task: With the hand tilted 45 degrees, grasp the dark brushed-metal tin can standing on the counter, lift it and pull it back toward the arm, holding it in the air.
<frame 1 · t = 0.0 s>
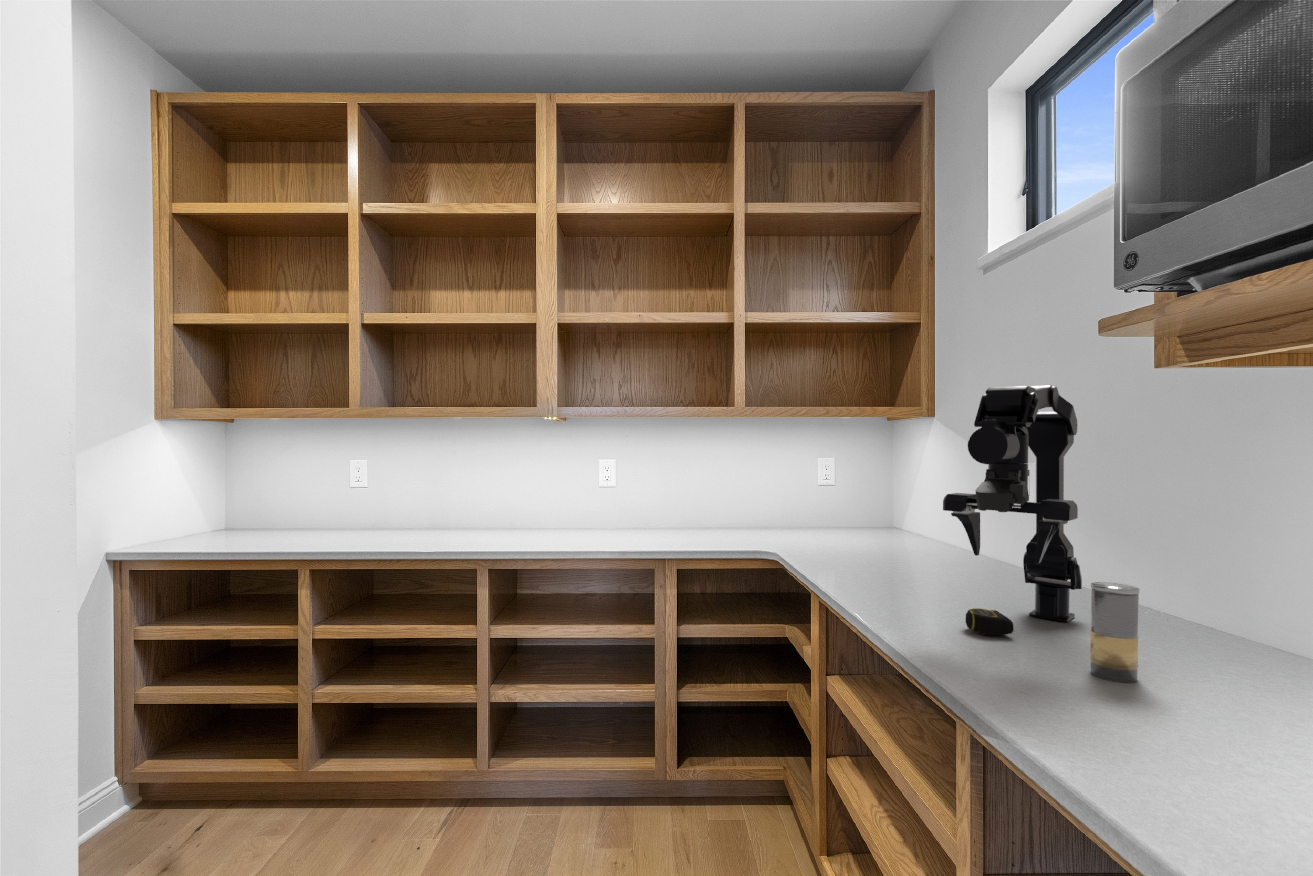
hand: (1006, 559, 108), 15 cm above the countertop, fingers open, 9 cm apart
tape measure: (990, 634, 117), on the countertop
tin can: (1113, 675, 96), on the countertop
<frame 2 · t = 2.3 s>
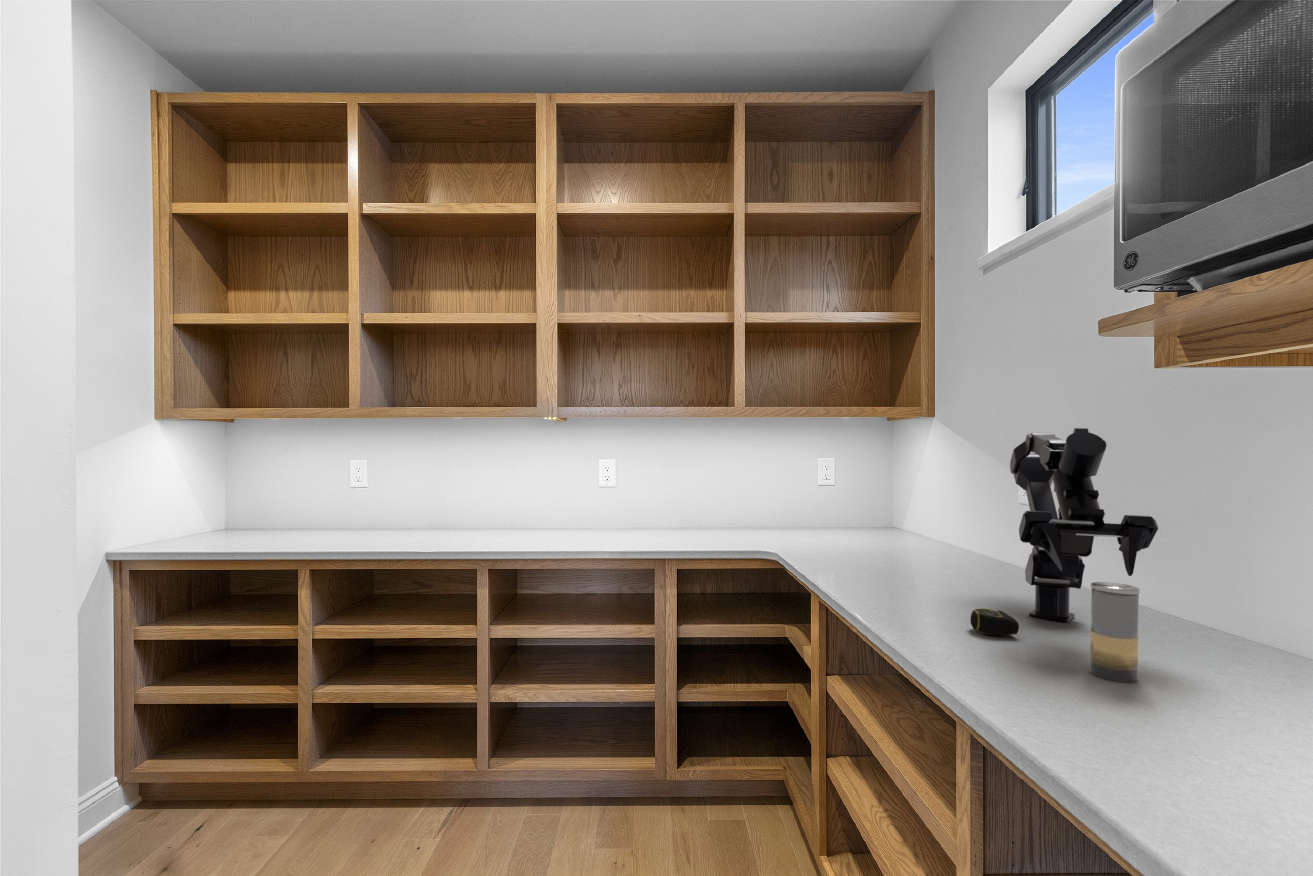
hand: (1096, 572, 104), 13 cm above the countertop, fingers open, 9 cm apart
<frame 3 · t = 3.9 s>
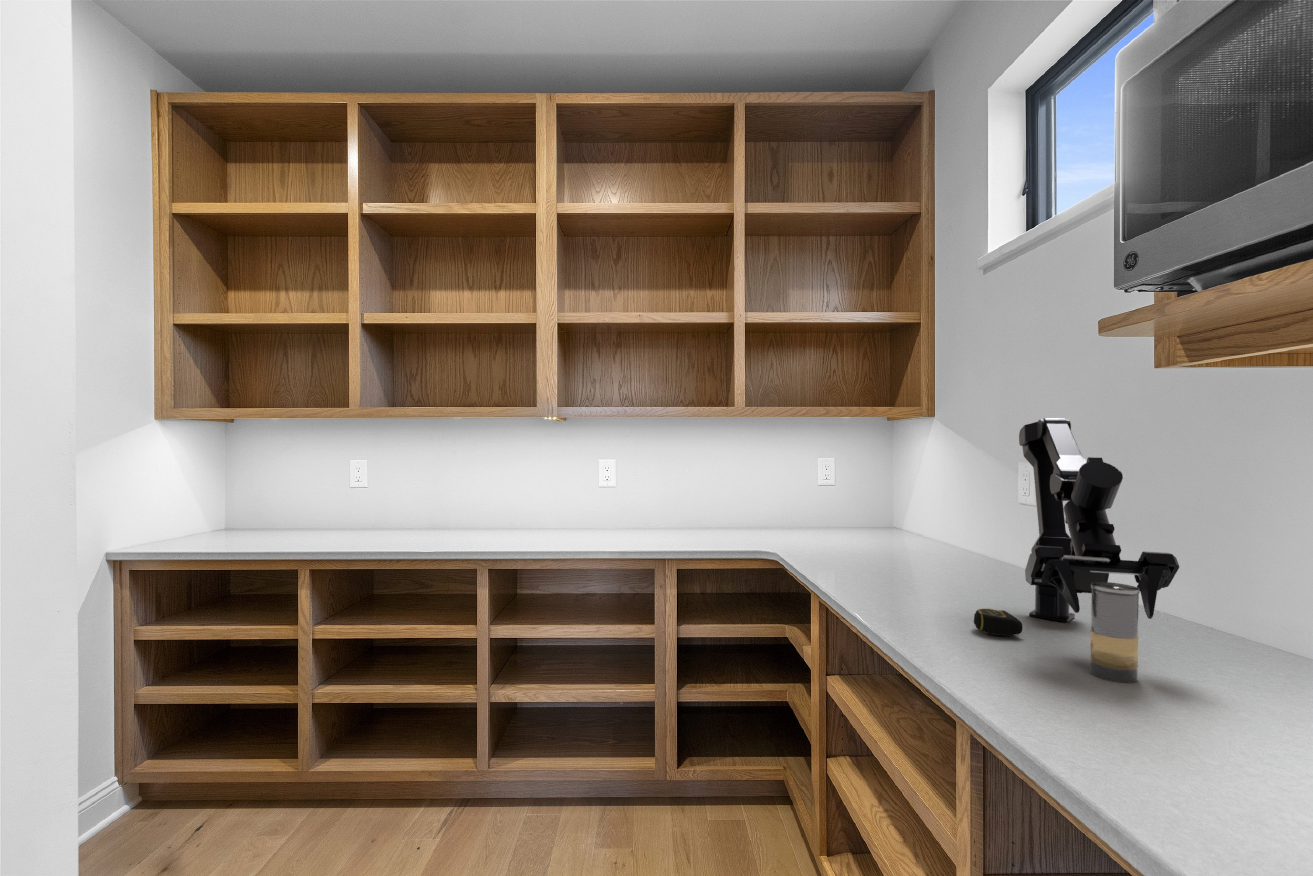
hand: (1113, 614, 96), 9 cm above the countertop, fingers open, 9 cm apart
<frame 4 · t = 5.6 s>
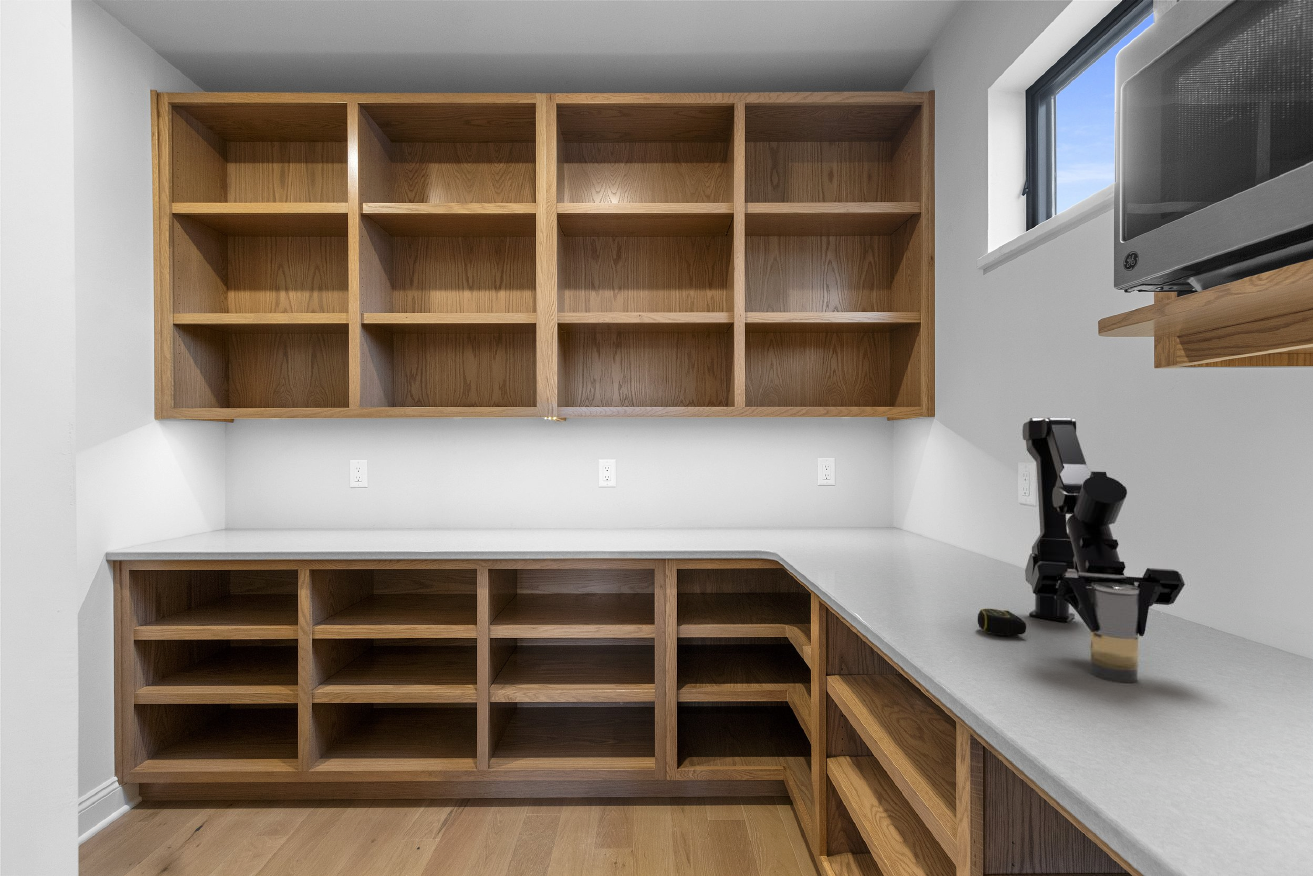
hand: (1117, 632, 95), 7 cm above the countertop, fingers closed on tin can, 6 cm apart
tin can: (1113, 675, 96), on the countertop, touching gripper
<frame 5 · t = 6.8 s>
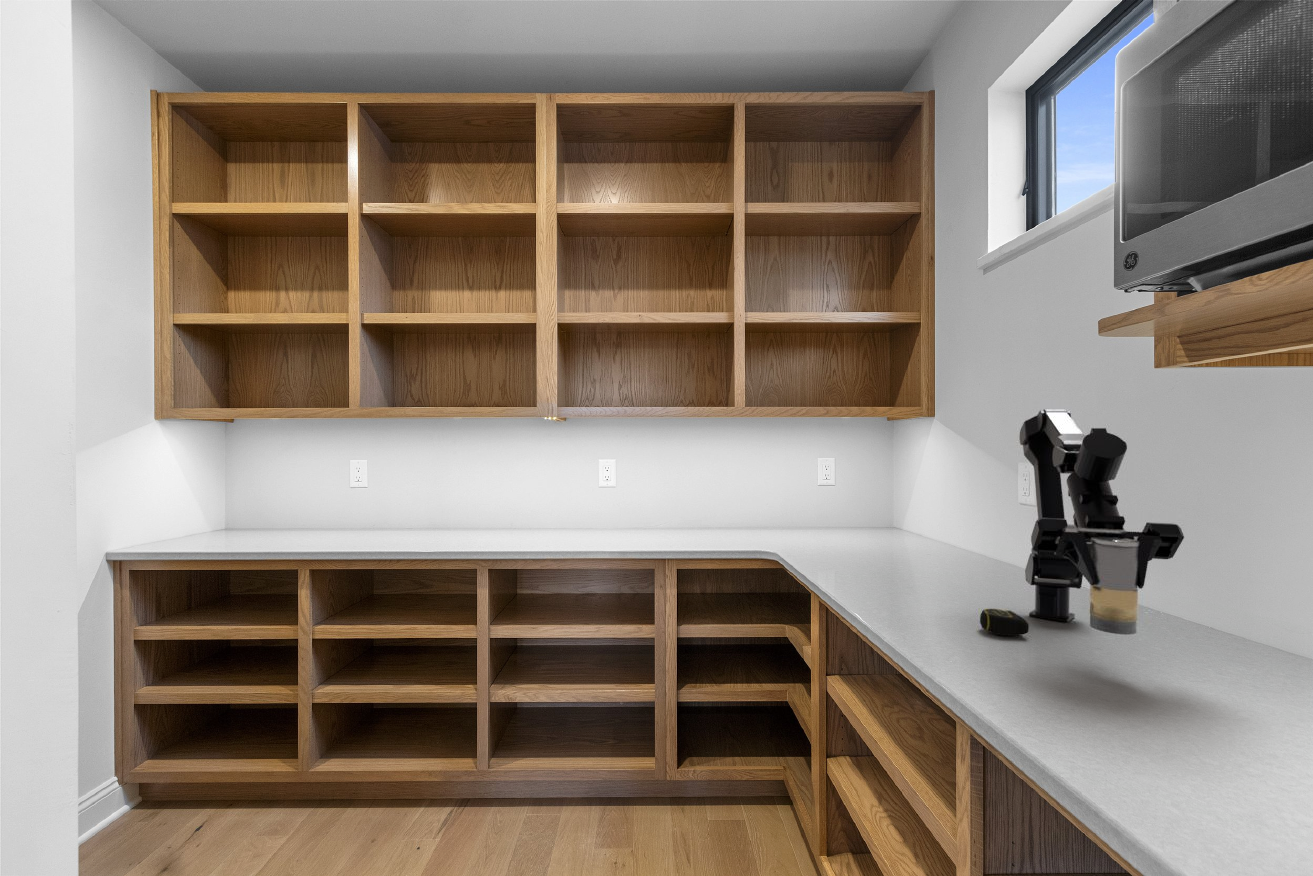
hand: (1117, 585, 95), 13 cm above the countertop, fingers closed on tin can, 6 cm apart
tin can: (1112, 628, 96), point 7 cm above the countertop, touching gripper
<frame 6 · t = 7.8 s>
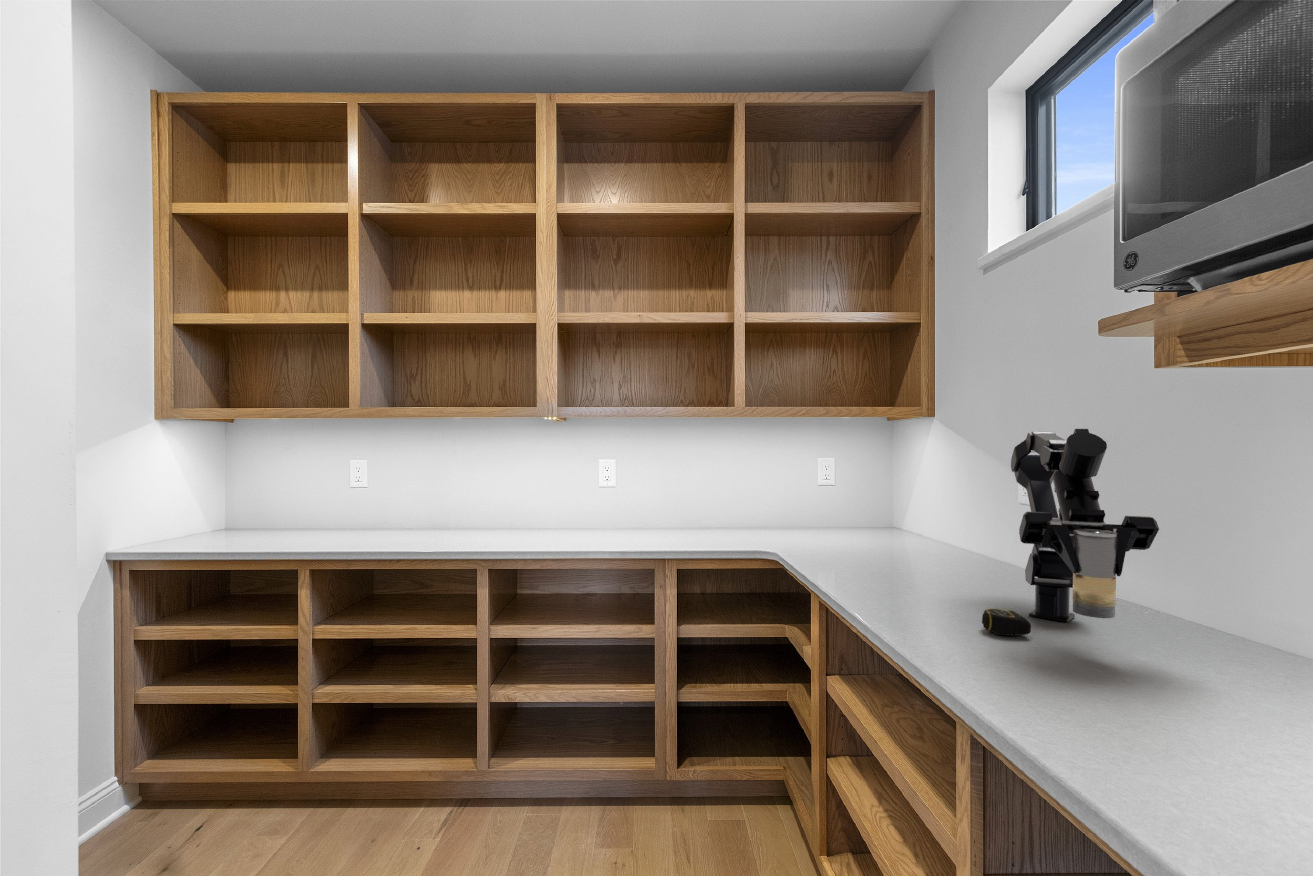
hand: (1097, 573, 103), 13 cm above the countertop, fingers closed on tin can, 6 cm apart
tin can: (1093, 613, 105), point 7 cm above the countertop, touching gripper
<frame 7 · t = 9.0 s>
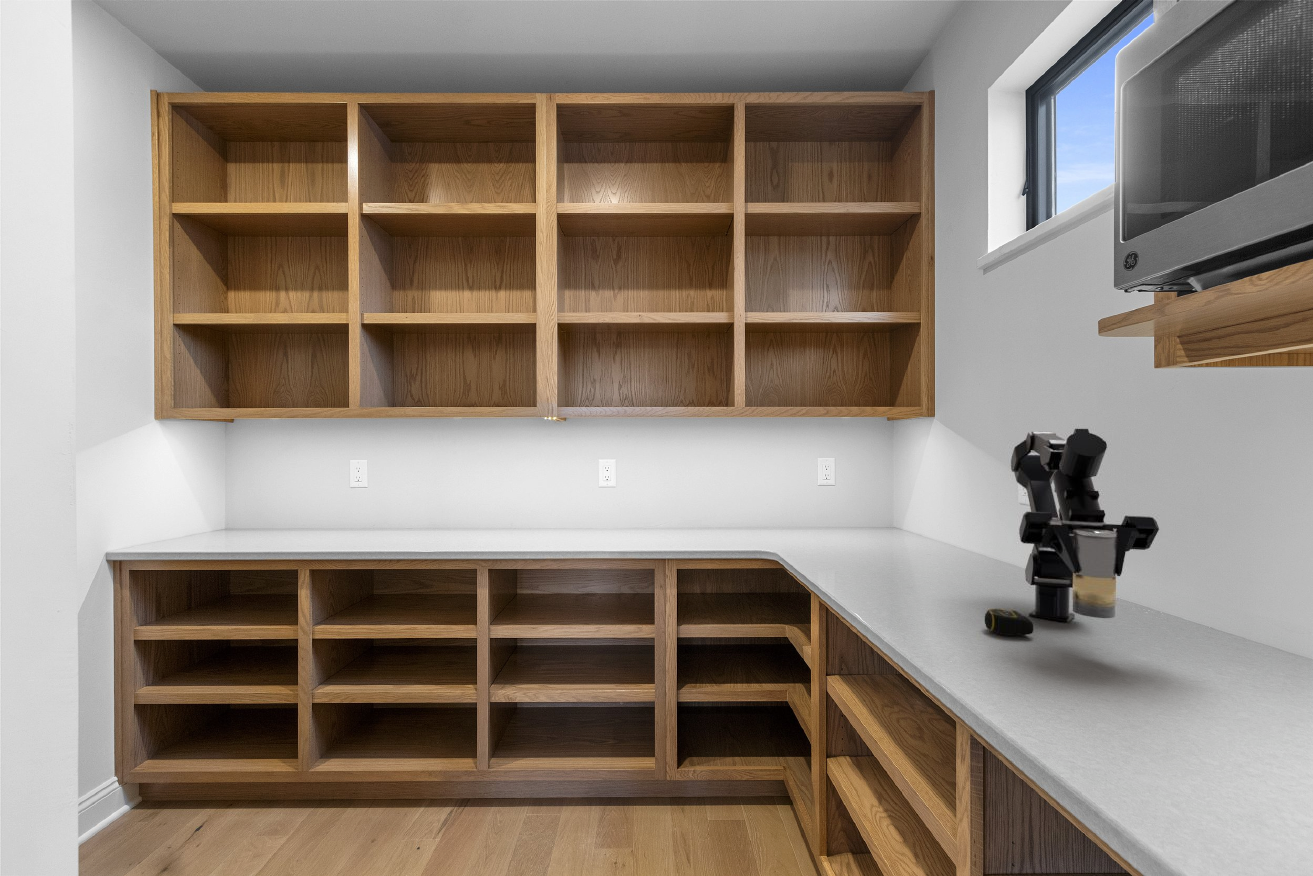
hand: (1097, 573, 103), 13 cm above the countertop, fingers closed on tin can, 6 cm apart
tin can: (1093, 613, 105), point 7 cm above the countertop, touching gripper
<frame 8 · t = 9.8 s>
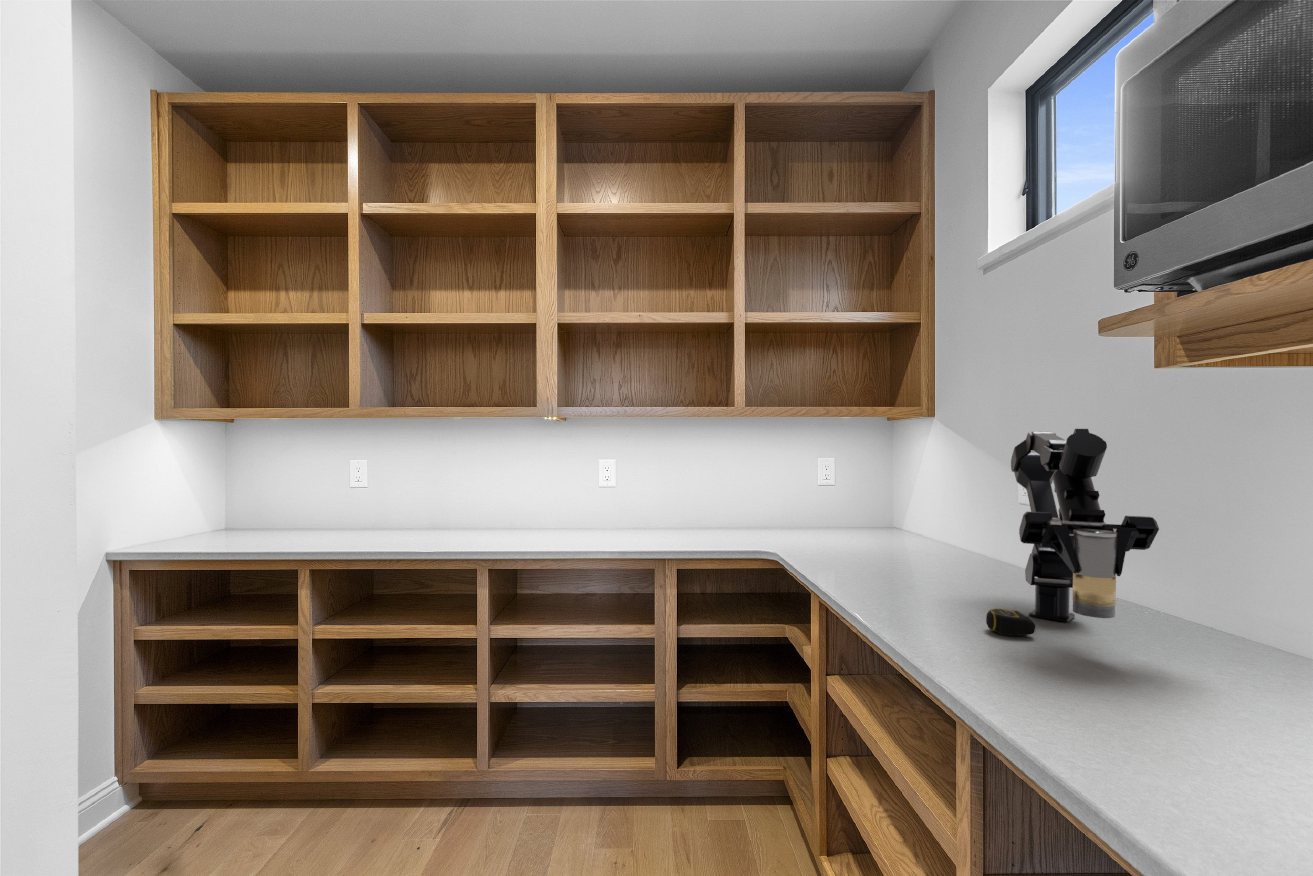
hand: (1097, 573, 103), 13 cm above the countertop, fingers closed on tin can, 6 cm apart
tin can: (1093, 613, 105), point 7 cm above the countertop, touching gripper
at the end: the gripper is holding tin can; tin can point 6.8 cm above the countertop; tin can moved 11.3 cm from its start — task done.
